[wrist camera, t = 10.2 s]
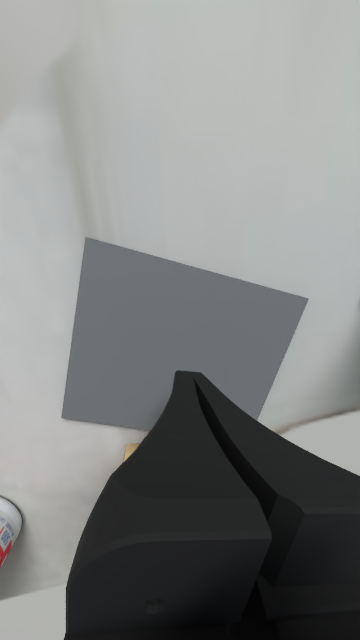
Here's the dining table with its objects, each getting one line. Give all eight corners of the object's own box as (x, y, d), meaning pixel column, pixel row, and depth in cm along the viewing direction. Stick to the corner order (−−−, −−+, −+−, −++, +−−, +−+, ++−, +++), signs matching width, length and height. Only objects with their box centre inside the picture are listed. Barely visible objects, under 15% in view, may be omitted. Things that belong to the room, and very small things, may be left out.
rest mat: (304, 297, 13) (308, 298, 13) (244, 439, 16) (246, 444, 15) (88, 238, 11) (85, 237, 10) (64, 413, 14) (61, 417, 13)
